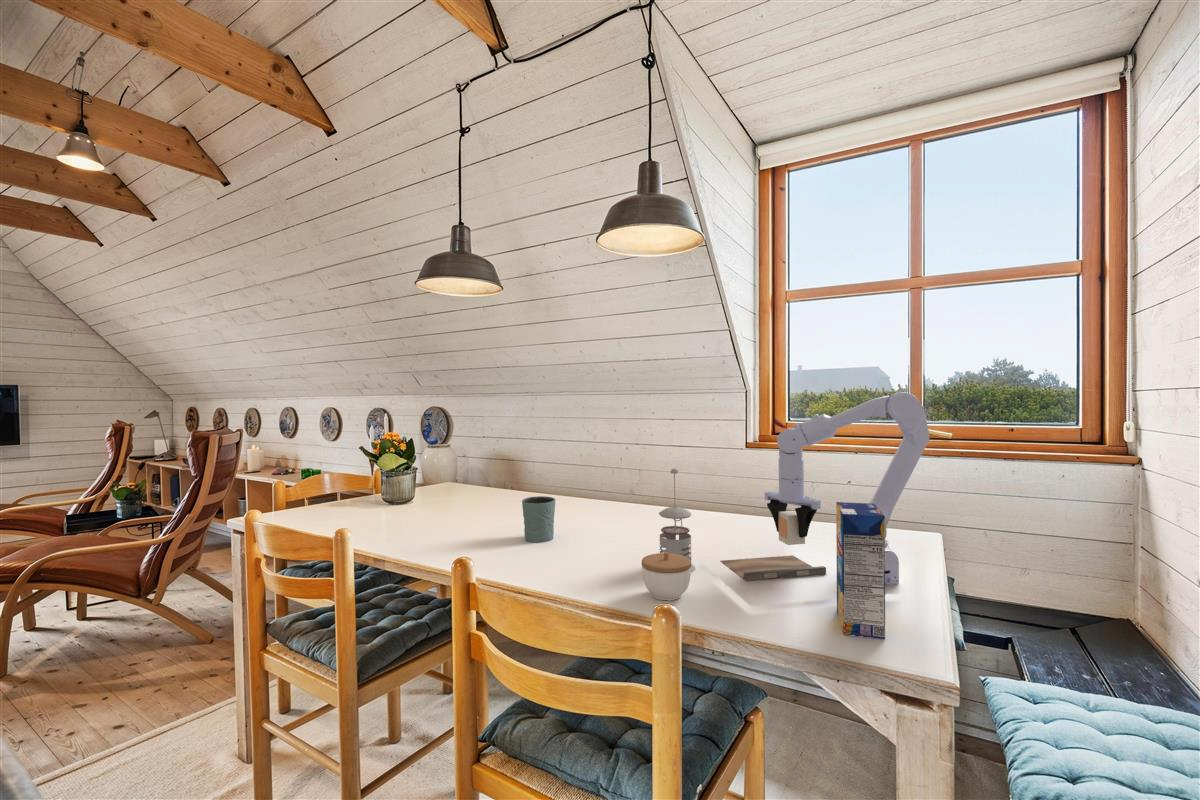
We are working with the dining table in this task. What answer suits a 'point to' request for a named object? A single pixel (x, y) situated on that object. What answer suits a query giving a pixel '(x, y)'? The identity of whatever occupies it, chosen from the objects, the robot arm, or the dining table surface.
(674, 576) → the lidded jar
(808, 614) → the dining table surface
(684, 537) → the french press
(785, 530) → the carton
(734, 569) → the shelf board
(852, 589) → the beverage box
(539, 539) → the teal textured cup
